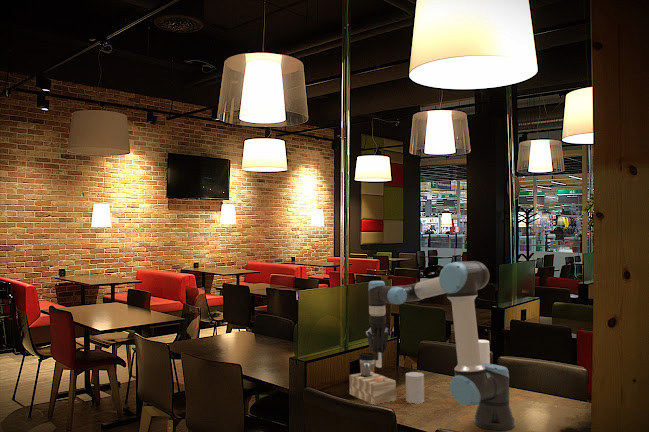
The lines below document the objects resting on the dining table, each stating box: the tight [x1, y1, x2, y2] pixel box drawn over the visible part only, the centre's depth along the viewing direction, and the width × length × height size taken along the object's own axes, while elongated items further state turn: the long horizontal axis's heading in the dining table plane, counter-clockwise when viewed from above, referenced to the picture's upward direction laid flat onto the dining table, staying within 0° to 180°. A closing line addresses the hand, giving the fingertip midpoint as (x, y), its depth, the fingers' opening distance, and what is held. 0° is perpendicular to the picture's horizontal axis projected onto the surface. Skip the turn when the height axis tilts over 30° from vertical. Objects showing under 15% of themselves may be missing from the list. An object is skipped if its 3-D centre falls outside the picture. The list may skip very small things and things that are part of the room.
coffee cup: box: [358, 352, 376, 373], centre depth 280 cm, size 8×8×15 cm
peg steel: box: [360, 362, 371, 377], centre depth 261 cm, size 4×4×9 cm
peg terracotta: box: [374, 378, 383, 382], centre depth 252 cm, size 4×4×9 cm
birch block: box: [348, 372, 397, 406], centre depth 256 cm, size 20×12×9 cm, turn 31°
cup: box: [405, 371, 425, 405], centre depth 250 cm, size 8×8×12 cm
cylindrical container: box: [478, 339, 491, 364], centre depth 258 cm, size 7×7×25 cm
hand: (378, 366), depth 252 cm, fingers closed
